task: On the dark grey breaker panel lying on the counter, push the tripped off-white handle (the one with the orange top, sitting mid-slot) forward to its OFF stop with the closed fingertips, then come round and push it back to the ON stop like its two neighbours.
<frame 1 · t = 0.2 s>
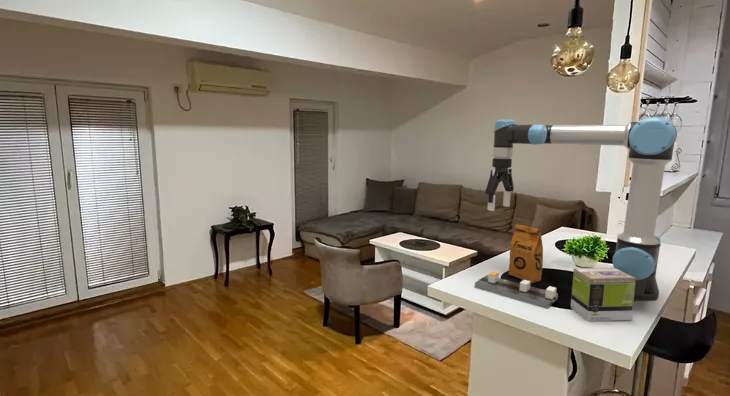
hand: (498, 208, 163), 28 cm above the breakfast bar counter, fingers open, 13 cm apart
breaker 2: (524, 285, 143), point 4 cm above the breakfast bar counter, slide at -3.0 cm
coffee package: (524, 278, 161), on the breakfast bar counter
tea box: (599, 315, 129), on the breakfast bar counter
panel: (514, 292, 146), on the breakfast bar counter
breaker 1: (550, 292, 137), point 4 cm above the breakfast bar counter, slide at -3.0 cm
breaker 3: (493, 277, 150), point 4 cm above the breakfast bar counter, slide at 0.0 cm
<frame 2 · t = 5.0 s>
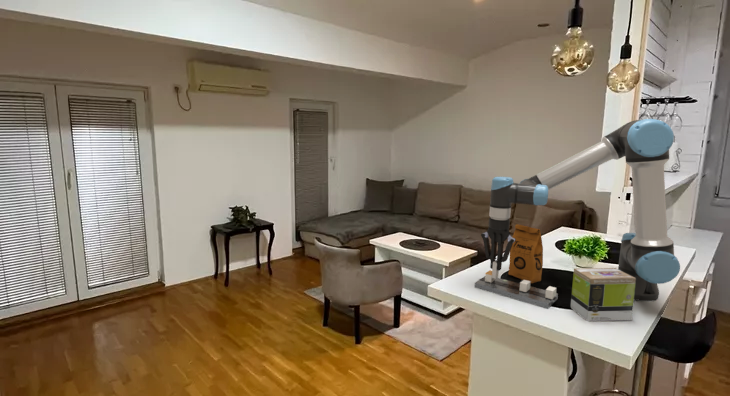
hand: (495, 277, 150), 4 cm above the breakfast bar counter, fingers closed
breaker 3: (490, 276, 151), point 4 cm above the breakfast bar counter, slide at 1.3 cm, touching gripper
everything else where it was.
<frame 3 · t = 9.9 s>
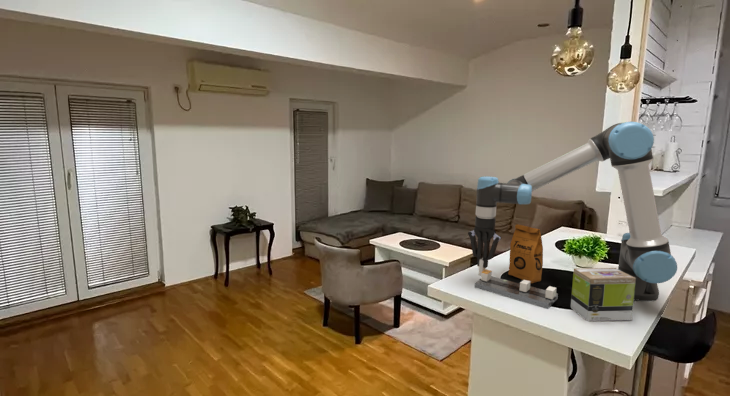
hand: (481, 274, 154), 4 cm above the breakfast bar counter, fingers closed
breaker 3: (486, 275, 152), point 4 cm above the breakfast bar counter, slide at 2.9 cm, touching gripper
everything else where it was.
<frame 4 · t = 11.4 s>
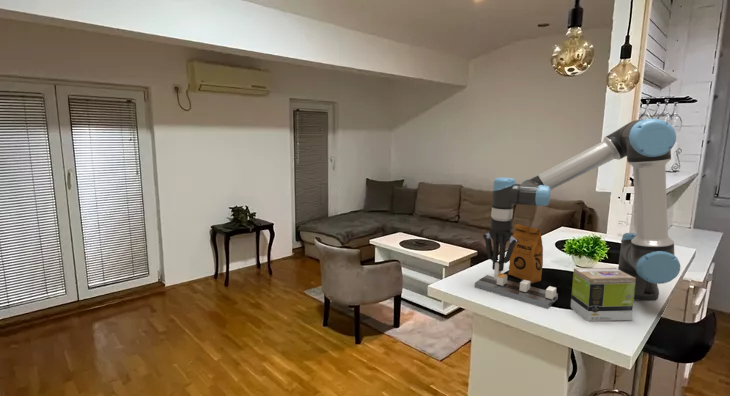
hand: (497, 278, 149), 4 cm above the breakfast bar counter, fingers closed
breaker 3: (502, 279, 148), point 4 cm above the breakfast bar counter, slide at -3.4 cm, touching gripper
everything else where it was.
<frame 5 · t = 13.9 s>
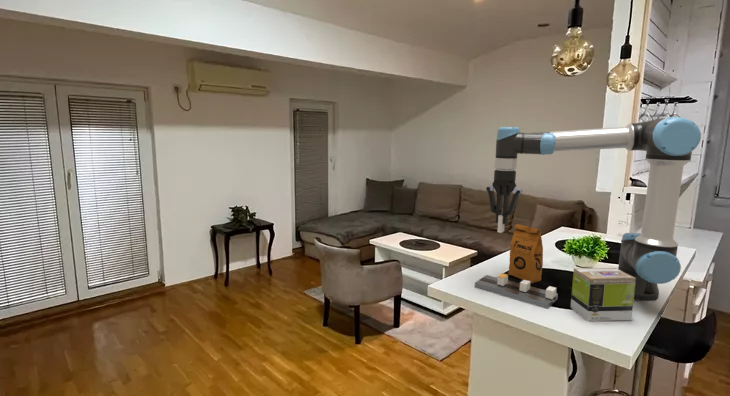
hand: (500, 231, 146), 22 cm above the breakfast bar counter, fingers closed
breaker 3: (502, 279, 148), point 4 cm above the breakfast bar counter, slide at -3.7 cm
everything else where it was.
at the end: breaker 3 slide at -3.7 cm; breaker 2 slide at -3.0 cm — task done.
